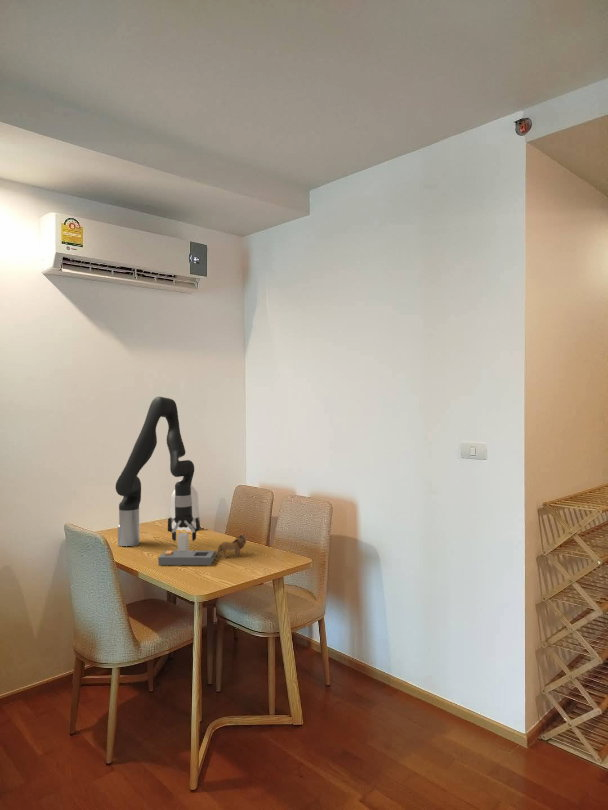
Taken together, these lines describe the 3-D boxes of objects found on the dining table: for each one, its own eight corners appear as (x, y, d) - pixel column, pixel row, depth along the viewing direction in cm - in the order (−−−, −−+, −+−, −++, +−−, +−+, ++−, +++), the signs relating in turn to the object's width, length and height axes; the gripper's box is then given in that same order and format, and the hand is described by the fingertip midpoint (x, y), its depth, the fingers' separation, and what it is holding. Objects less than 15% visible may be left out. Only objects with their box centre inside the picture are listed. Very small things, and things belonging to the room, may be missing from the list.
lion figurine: (243, 552, 244) (243, 532, 244) (248, 555, 240) (248, 535, 239) (213, 557, 237) (213, 537, 237) (217, 560, 232) (217, 539, 232)
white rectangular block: (177, 555, 241) (177, 535, 240) (180, 552, 245) (179, 532, 244) (186, 555, 240) (186, 535, 240) (188, 552, 244) (188, 532, 244)
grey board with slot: (158, 565, 226) (158, 555, 226) (165, 558, 236) (165, 548, 236) (210, 565, 225) (210, 555, 225) (215, 558, 235) (215, 548, 235)
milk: (169, 530, 286) (169, 481, 285) (179, 525, 297) (179, 478, 296) (190, 531, 283) (190, 482, 282) (199, 526, 294) (199, 479, 294)
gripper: (165, 506, 239) (166, 543, 239) (197, 506, 239) (198, 542, 239) (170, 503, 246) (170, 538, 247) (200, 502, 246) (201, 538, 246)
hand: (184, 540), depth 243 cm, fingers open, 8 cm apart
